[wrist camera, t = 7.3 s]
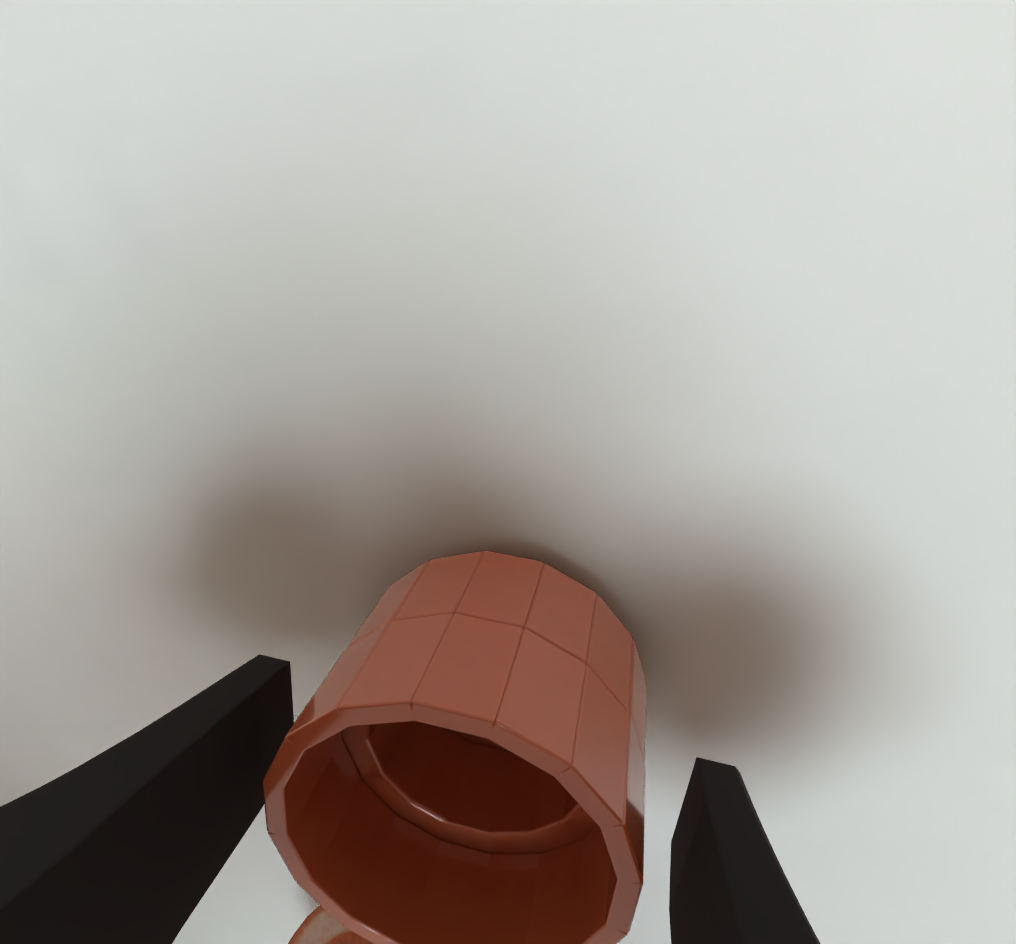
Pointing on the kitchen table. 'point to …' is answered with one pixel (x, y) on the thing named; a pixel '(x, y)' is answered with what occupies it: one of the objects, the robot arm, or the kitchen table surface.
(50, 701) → the kitchen table surface
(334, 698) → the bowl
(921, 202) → the kitchen table surface
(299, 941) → the fruit slice
